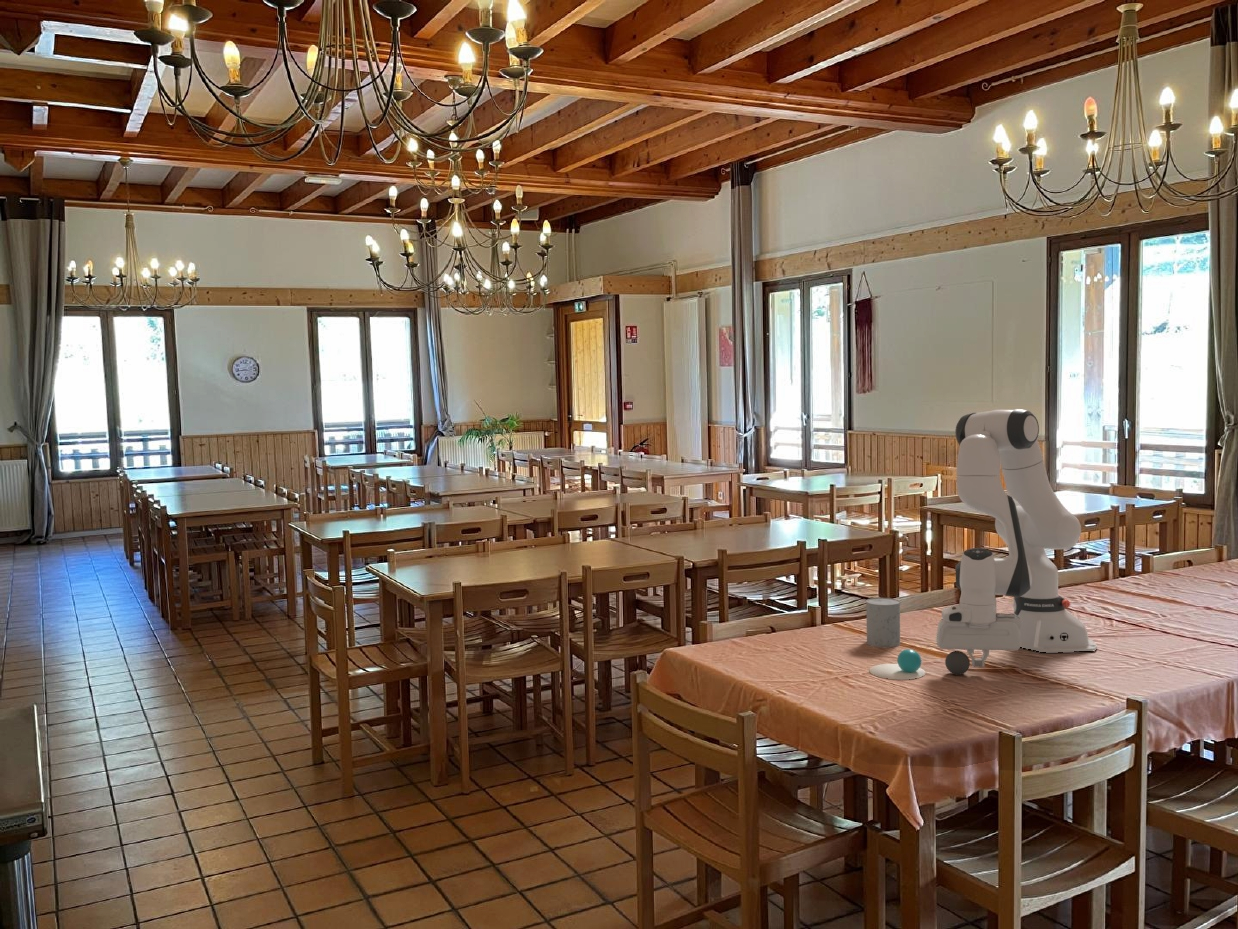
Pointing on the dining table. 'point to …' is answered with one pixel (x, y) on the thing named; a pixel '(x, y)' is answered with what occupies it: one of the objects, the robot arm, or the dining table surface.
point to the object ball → (909, 660)
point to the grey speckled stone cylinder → (883, 622)
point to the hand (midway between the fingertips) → (978, 666)
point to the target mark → (895, 672)
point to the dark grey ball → (957, 662)
